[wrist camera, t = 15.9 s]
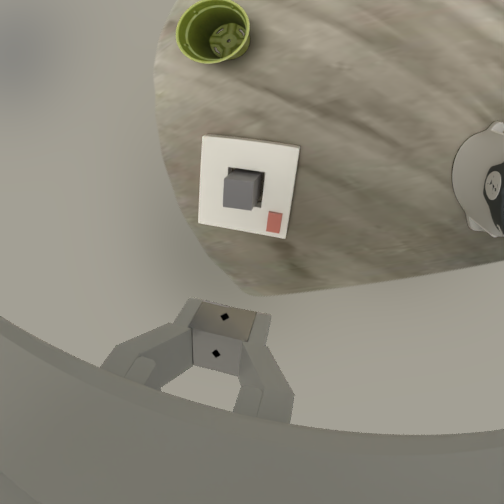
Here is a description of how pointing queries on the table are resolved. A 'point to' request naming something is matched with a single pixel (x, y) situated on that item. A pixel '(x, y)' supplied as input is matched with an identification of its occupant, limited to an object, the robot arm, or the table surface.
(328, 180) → the table surface
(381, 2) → the table surface
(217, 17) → the plant pot
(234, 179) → the plug
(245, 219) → the socket plate
